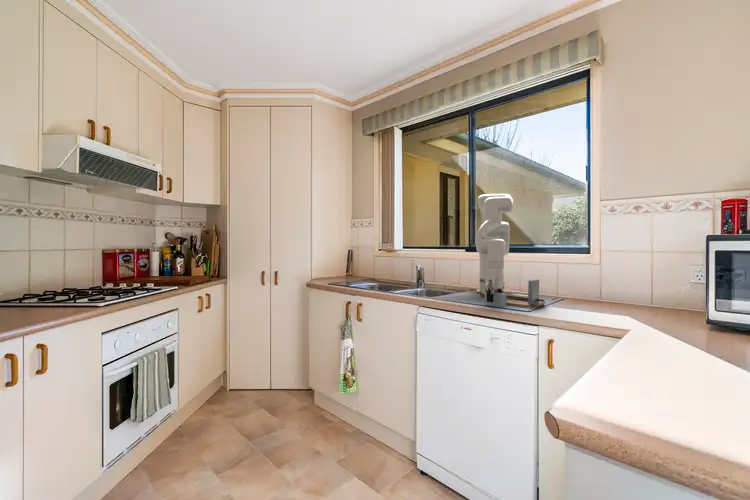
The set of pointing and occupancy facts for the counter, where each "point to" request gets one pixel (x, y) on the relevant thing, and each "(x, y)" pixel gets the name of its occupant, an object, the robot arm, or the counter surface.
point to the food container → (482, 288)
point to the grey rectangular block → (497, 299)
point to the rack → (519, 301)
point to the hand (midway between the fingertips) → (494, 300)
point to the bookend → (534, 292)
